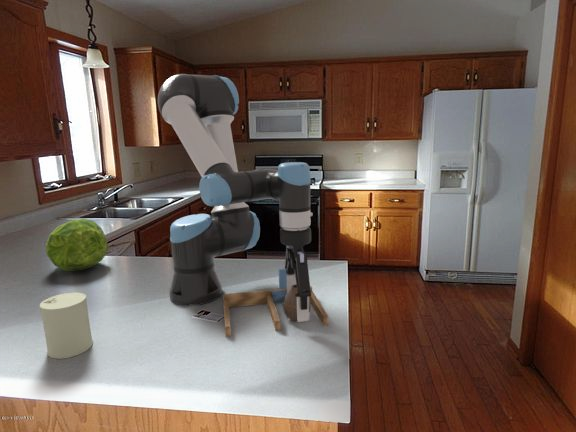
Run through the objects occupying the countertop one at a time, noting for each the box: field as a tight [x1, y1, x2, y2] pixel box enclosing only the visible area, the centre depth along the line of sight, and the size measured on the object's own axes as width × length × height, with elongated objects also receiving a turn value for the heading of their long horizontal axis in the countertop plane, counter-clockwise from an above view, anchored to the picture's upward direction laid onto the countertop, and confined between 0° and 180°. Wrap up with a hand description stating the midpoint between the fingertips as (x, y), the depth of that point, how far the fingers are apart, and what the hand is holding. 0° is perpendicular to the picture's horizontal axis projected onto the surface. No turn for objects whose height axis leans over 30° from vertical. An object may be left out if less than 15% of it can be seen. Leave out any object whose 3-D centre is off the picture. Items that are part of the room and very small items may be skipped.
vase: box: [282, 284, 312, 323], centre depth 101 cm, size 7×7×9 cm
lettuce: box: [45, 218, 109, 272], centre depth 144 cm, size 19×23×18 cm
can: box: [39, 291, 94, 360], centre depth 90 cm, size 9×9×12 cm
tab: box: [278, 267, 295, 289], centre depth 113 cm, size 5×1×6 cm, turn 100°
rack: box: [222, 285, 329, 337], centre depth 104 cm, size 25×17×4 cm
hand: (297, 308), depth 101 cm, fingers open, 13 cm apart
